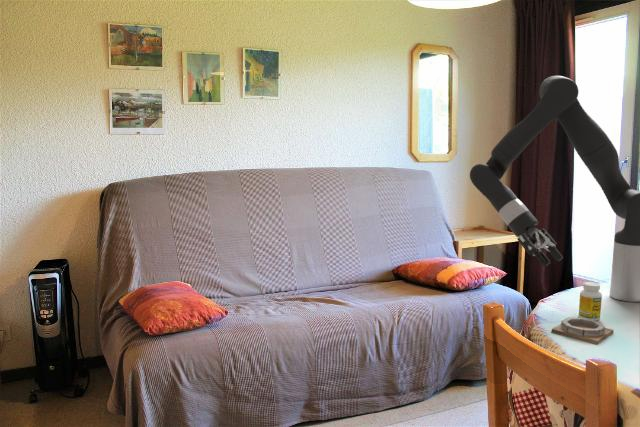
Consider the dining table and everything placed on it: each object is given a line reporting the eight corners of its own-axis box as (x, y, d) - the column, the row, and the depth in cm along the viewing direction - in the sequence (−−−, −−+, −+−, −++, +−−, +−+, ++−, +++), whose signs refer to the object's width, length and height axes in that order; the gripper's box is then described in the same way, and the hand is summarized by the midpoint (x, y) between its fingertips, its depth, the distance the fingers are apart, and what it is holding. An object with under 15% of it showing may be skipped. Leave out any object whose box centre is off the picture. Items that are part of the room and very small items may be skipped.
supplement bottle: (585, 313, 153) (588, 280, 152) (604, 318, 149) (607, 284, 147) (574, 316, 150) (576, 283, 149) (593, 322, 146) (595, 287, 144)
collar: (568, 321, 146) (569, 313, 146) (613, 332, 138) (613, 324, 138) (551, 332, 138) (552, 323, 138) (597, 344, 130) (598, 334, 130)
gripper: (515, 212, 154) (553, 258, 148) (538, 207, 164) (574, 250, 157) (497, 228, 159) (533, 273, 152) (520, 222, 168) (554, 265, 162)
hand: (554, 262), depth 155 cm, fingers open, 8 cm apart
